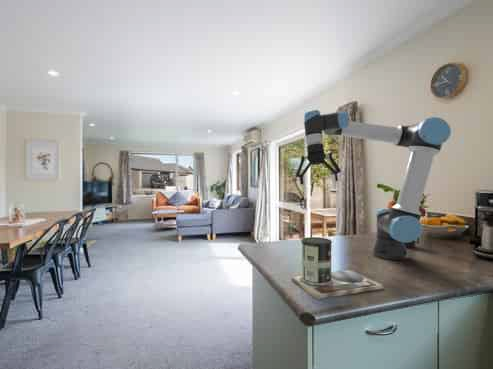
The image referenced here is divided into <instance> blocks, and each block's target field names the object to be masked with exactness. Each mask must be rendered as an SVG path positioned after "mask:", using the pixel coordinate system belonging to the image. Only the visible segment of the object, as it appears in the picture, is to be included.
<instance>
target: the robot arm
mask: <svg viewBox="0 0 493 369" xmlns="http://www.w3.org/2000/svg"><path fill="white" fill-rule="evenodd" d="M349 118H350V117H349V113H348V111H344V110H343V111H337V112H330V113H322V114H321V111H320V110H317V109H312V110H309V111H306V112H304V114H303V125H304V132H305V133H304V134H305V143H306V152H307V156H306V155H305V156H304V155H301V156H300V163H299V165H298V168H297V170H296V173H295V177H296V178H299V181H300V185H302V189H303V192H307V188H306V179H305V178H306V177H304V176H305V175H306V172H308V170H309V169H310V167H311V166H312V165H313V166H314V165H323V166H324V167H326V169H327V170H328V171H329V172H331V173H332V174H331V180H332V181H331V182H332V188H333V190H336V189H337V182H338V174H339V173H341V171H342V170H341V168H340V167H339V165H338V164H337V162H336V160H334V158H333V155H332V153H331V152H329V153H325V148H324V144H323V143H324V140H323V139H324V138H323V134H324V135H325V136H330V137H332V136H341V137H346V138H347V137H349V138H355V139H356V138H357V139H360V140H369V141H375V142H382V143H389V144H392V145H393V146H395V147H397V146H398V147H403V148H407V149H408V150H409V151H410V155H409V159H408V162H407V165H406V169H405V172H404V176H403V180H402V183H401V186H400V191H399V194H398V197H397V201H396V202H395V203H396V204H394V205H392V206H391V208H380V209H377V210H376V238H375V242H374V245H373V247H372V250H371V251H372V253H371V254H372V255H373V256H375V257H377V258H380V259H385V260H390V261H392V260H393V261H405V260H407V259H409V258H408V256H409V255H408V251H407V248H405V245H404V242H405V243H408V242H412V241H415V242H416V241H417V239H418V238H419V239H420V237H421V235H422V232H423V226H422V223H421V218H422V213H421V211H420V210H419V209H420V205H421V203H422V199H423V196H424V191H425V188H426V185H427V181H428V178H429V174H430V171H431V168H432V165H433V161H434V157H435V156H436V155H438V154H440V153H441V149H442V146H443V144H444V143H445V142H447V141H448V140H449V138H450V136H451V134H452V133H451V132H452V131H451V130H452V129H451V126H450V124H448V122H447V120H445V119H443V118H441V117H437V116H436V117H435V116H433V117H429V118H428V117H427V118H424V119H422V120H421V121H419V122H417V123H415V124H413V125H398V126H397V127H396V126H390V125H382V124H381V125H380V124H374V123H365V122H359V121H357V122H356V121H350V119H349ZM325 159H328V161H329V162H330V163H331V165H330V164H329V163H328V162H327V161H326V160H325ZM306 160H307V161H308V163H307V164H306V166H305V167H304V169H303V170H302V168H303V165H304V164H305V161H306ZM332 166H333V167H332ZM301 170H302V172H301Z"/></svg>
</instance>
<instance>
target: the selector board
mask: <svg viewBox="0 0 493 369" xmlns="http://www.w3.org/2000/svg"><path fill="white" fill-rule="evenodd" d="M331 280H332V282H331V283H330V284H328V285H312V284H308V283H306V282H304V281H303V280H302V275H299V276H291V281H292V282H293V283H295V284H296V285H297V286H298V287H300V288H301V289H303V290H304V291H305V292H307V293H308V294H309V295H311V296H312V297H314V298H315V299H316V300H320V299H321V300H322V299H326V298H333V297H339V296H344V295H351V294H357V293H363V292H369V291H377V290H382V289H384V285H383V284H382V283H379V282H377V281H375V280H373V279H370V278H368V277H366V276H364V275H362V274H359V273H358V272H356V271H353V270H352V269H346V270H334V271H331Z"/></svg>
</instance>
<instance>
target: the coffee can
mask: <svg viewBox="0 0 493 369" xmlns="http://www.w3.org/2000/svg"><path fill="white" fill-rule="evenodd" d="M300 242H301V276H302V280H303V281H304V282H306V283H308V284H312V285H328V284H330V283H331V282H332V280H331V272H332V243H333V241H332V240H331V239H329V238H325V237H313V236H311V237H310V236H309V237H304V238H301V241H300Z"/></svg>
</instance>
